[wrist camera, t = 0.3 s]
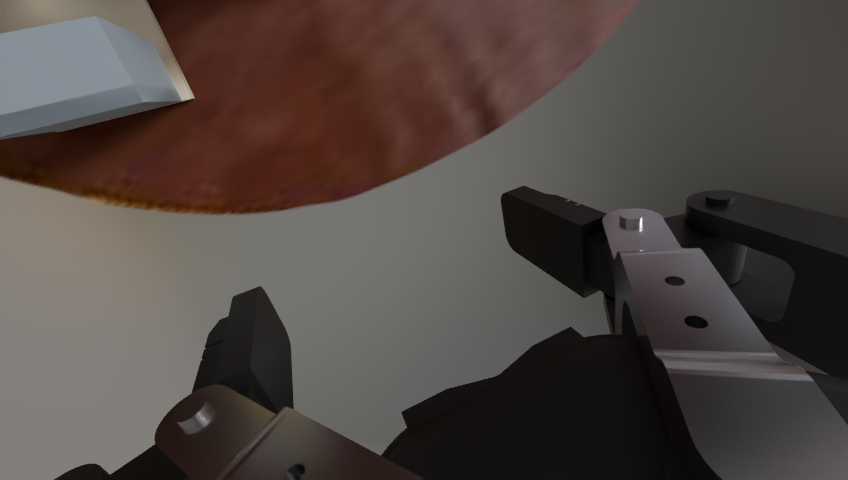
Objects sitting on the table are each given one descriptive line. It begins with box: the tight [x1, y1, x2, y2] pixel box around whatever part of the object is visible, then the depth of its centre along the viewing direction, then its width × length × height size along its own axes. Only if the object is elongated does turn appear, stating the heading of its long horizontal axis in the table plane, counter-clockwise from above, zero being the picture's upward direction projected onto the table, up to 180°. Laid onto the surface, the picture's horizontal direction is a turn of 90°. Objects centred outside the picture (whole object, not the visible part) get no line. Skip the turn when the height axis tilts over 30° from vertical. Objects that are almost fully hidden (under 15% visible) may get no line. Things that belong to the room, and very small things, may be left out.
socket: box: [0, 16, 182, 139], centre depth 24 cm, size 4×8×10 cm, turn 104°
